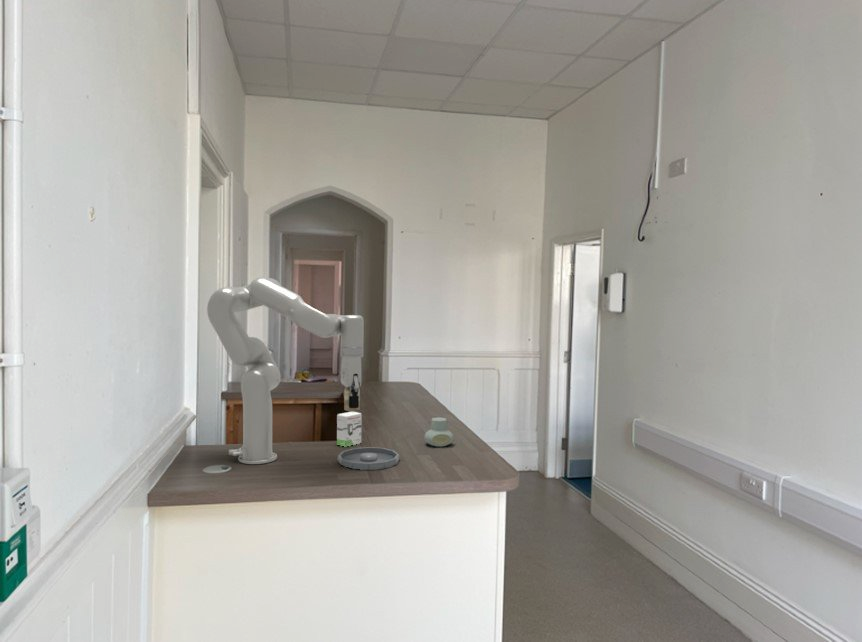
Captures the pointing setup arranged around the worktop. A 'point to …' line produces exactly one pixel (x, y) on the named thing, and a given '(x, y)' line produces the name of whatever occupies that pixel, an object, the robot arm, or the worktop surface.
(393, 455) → the ring tray
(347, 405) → the beige cylinder
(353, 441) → the ink box
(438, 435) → the air freshener
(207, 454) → the worktop surface
